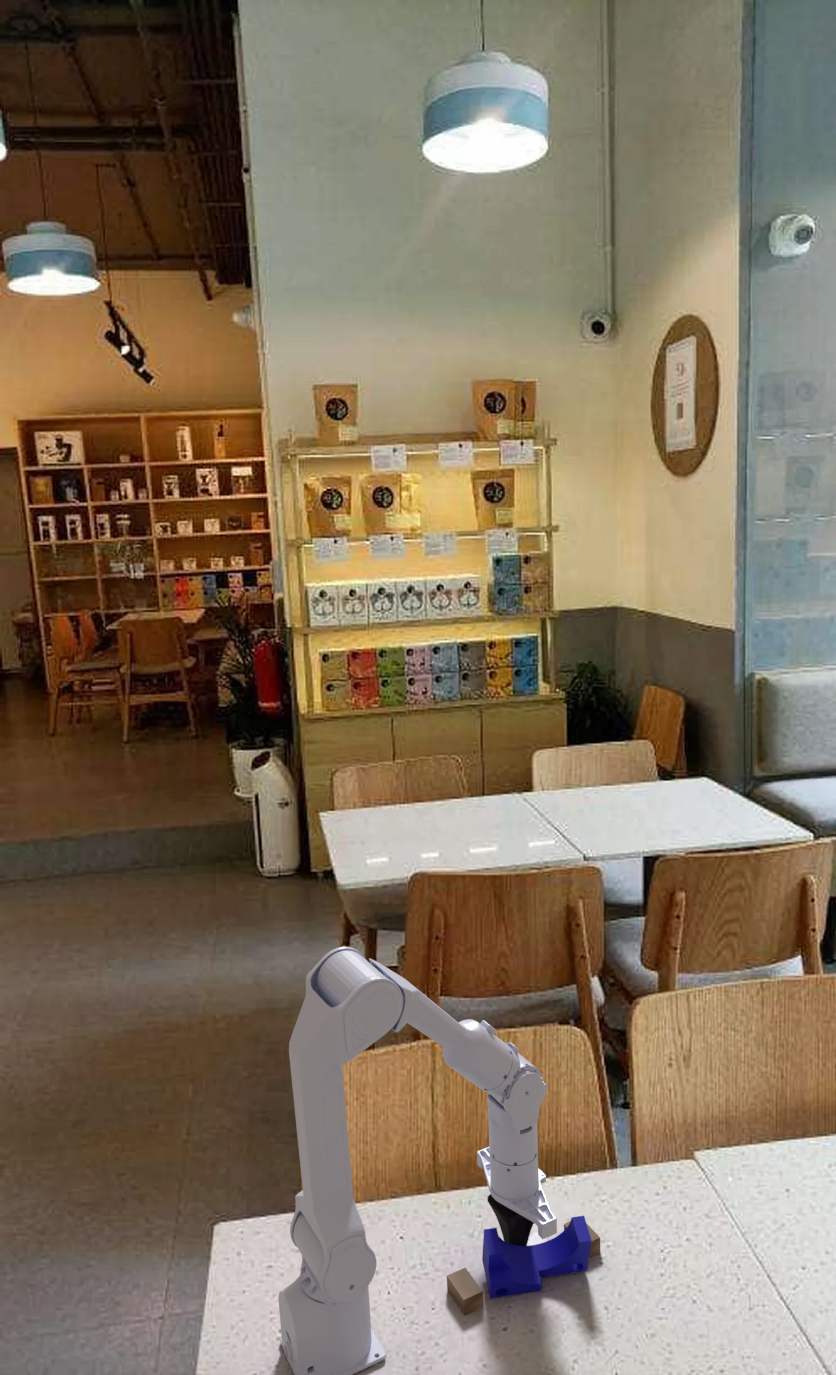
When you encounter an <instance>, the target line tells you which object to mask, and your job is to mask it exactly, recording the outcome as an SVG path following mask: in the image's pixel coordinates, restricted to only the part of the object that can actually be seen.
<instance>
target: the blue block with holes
mask: <svg viewBox="0 0 836 1375" xmlns="http://www.w3.org/2000/svg"><path fill="white" fill-rule="evenodd" d="M569 1222H570V1224H569V1225H568V1227H567V1228H566V1229H565V1230H564V1229H563V1231H562V1232H560V1233H559V1234H558V1235H556V1236H555V1237H553V1238H552V1239H549V1240H546V1241H544V1242H541V1243H537V1244H531V1245H527V1246H518V1245H512V1244H509V1243H507V1242H505V1241H504V1239H502V1238H501V1237H500V1236H499V1233H498V1228H497V1227H491V1228H484V1229H483V1238H482V1239H483V1242H482V1258H481V1259H482V1264H483V1270H484V1276H485V1281H486V1286H487V1291H488V1296H489V1299H498V1298H504V1297H511V1296H518V1295H524V1294H531V1293H537V1292H541V1291H542V1280H541V1278H548V1277H554V1276H561V1275H569V1274H575V1273H581V1272H583V1273H584V1272H588V1268H589V1262H590V1260H589V1259H590V1257H589V1255H590V1248H591V1241H592V1240H591V1237H590V1234H589V1230H588V1227H587V1224H588V1223H587V1221H586V1218H585V1215H580V1216H571V1219H570V1221H569ZM586 1223H587V1224H586Z"/></svg>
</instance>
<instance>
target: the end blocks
mask: <svg viewBox="0 0 836 1375" xmlns="http://www.w3.org/2000/svg"><path fill="white" fill-rule="evenodd" d="M569 1224H570V1221H568V1222H565V1223H564V1224H563V1231H564V1230H565V1229H566V1228H567V1227H568V1225H569ZM586 1224H587V1227H588V1230H589V1234H590V1237H591V1240H592V1241H591V1248H590V1255H589V1258H591V1257H593V1256H595V1255H597V1254H599V1253H601V1237H600V1236H599V1234H598V1233H596V1231H595V1230H593V1228H592V1227H591V1226H590V1225H589V1224H588V1223H587V1222H586ZM446 1291H447V1292H448V1294H449V1295H450V1297H451V1298H452V1300H453V1301H454V1303H455V1304H456V1306H457V1307H458V1309H460V1311H461V1313H462V1314H463V1316H466V1315H468V1314H471V1313H473V1312H475V1311H477V1310H479V1309H482V1308H483V1307H484V1294H483V1293H484V1291H483V1290H482V1288H481V1287H480V1285H479V1284H478V1283H477V1281H476V1280H475V1279H474V1277H473V1276H472V1274H471V1273H470V1272H469V1270H468V1268H466V1267H463V1268H461V1269H459V1270H457V1271H454V1272H453V1273H452V1272H451V1273H449V1274H447V1275H446Z"/></svg>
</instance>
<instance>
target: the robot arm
mask: <svg viewBox="0 0 836 1375" xmlns="http://www.w3.org/2000/svg"><path fill="white" fill-rule="evenodd" d="M368 960H369V961H368ZM368 960H367V959H366V957H364V955H363V954H362V952H360V951H359V950H358V949H356V948H354V947H350V946H340V947H336V948H334V949H332V950H330V951H328V952H327V953H325V955H323V957H321V959H320V960H319V961H318V962H317V963H316V965H314V966H313V968H312V969H311V970H310V971H309V972H308V973H307V974H306V976H305V997H304V1000H303V1003H302V1005H301V1009H300V1011H299V1013H298V1017H297V1019H296V1023H295V1025H294V1028H293V1030H292V1034H291V1036H290V1039H289V1042H288V1043H289V1044H288V1045H289V1046H288V1055H289V1066H290V1075H291V1076H290V1077H291V1086H292V1096H293V1104H294V1116H295V1123H296V1124H295V1125H296V1137H297V1146H298V1156H299V1163H300V1164H299V1165H300V1175H301V1186H302V1190H301V1191H299V1192H298V1193H297V1194H296V1195H295V1197H294V1200H295V1211H294V1214H293V1217H292V1220H291V1223H290V1227H289V1236H290V1240H291V1241H292V1242H293V1245H294V1246H295V1247H296V1248H297V1249H298V1251H299V1252H300V1255H301V1265H300V1274H299V1276H298V1277H297V1278H296V1279H295V1280H294V1281H292V1283H290V1284H289V1285H288V1286H286V1287H285V1288H283V1289H281V1290H280V1291H279V1293H278V1308H279V1309H278V1310H279V1319H280V1320H279V1323H280V1334H281V1336H280V1337H279V1338H280V1339H279V1342H280V1344H281V1347H282V1349H283V1351H284V1355H285V1357H286V1361H288V1364H289V1366H290V1368H291V1370H292V1373H293V1375H354V1374H357V1373H358V1372H360V1371H363V1370H365V1369H368V1367H371V1366H373V1365H375V1364H377V1363H379V1362H381V1361H382V1362H383V1361H384V1360H386V1359H387V1358H386V1357H387V1352H386V1351H385V1348H384V1347H383V1345H382V1343H381V1341H380V1339H379V1337H378V1336H377V1334H376V1332H375V1331H374V1328H373V1327H372V1323H371V1322H372V1321H371V1307H370V1305H371V1304H370V1290H369V1285H370V1284H371V1283H372V1281H373V1279H374V1278H375V1277H374V1276H375V1274H376V1270H377V1258H376V1254H375V1251H374V1250H373V1249H372V1247H371V1246H370V1245H369V1244H368V1242H367V1236H366V1229H365V1226H364V1224H363V1221H362V1218H361V1215H360V1213H359V1210H358V1207H357V1205H356V1202H355V1198H354V1189H353V1186H354V1185H353V1176H352V1164H351V1154H350V1142H349V1141H350V1140H349V1130H348V1120H347V1119H348V1118H347V1110H346V1099H345V1098H346V1097H345V1087H344V1086H345V1085H344V1075H343V1064H349V1062H351V1061H352V1060H353V1059H354V1058H356V1057H358V1055H360V1054H362V1053H363V1052H364V1051H365V1050H366V1049H368V1048H369V1047H371V1046H372V1045H373V1044H374V1043H376V1042H377V1041H379V1040H380V1039H381V1038H382V1037H384V1036H385V1035H386V1034H387V1033H388V1032H389V1031H391V1030H392V1031H393V1032H394V1033H399V1032H400V1031H401V1030H402V1029H403V1028H404V1027H405V1026H406V1024H408V1025H409V1026H411V1027H413V1028H414V1029H416V1030H417V1031H419V1032H420V1033H421V1034H423V1035H425V1036H426V1037H427V1038H428V1039H430V1040H432V1041H434V1042H435V1043H436V1044H438V1045H439V1046H441V1047H442V1057H443V1060H444V1062H445V1064H446V1065H447V1066H448V1067H449V1068H450V1069H452V1070H454V1071H455V1072H456V1073H458V1074H459V1075H461V1076H462V1077H463V1078H465V1079H466V1080H468V1081H469V1082H470V1083H472V1085H474V1086H475V1087H478V1088H479V1089H480V1090H481V1091H483V1092H485V1093H488V1094H487V1118H488V1119H487V1120H488V1142H489V1146H487V1147H484V1148H482V1149H480V1150H478V1151H476V1164H477V1166H478V1167H479V1169H481V1170H483V1172H484V1176H485V1179H486V1182H487V1183H486V1184H487V1186H488V1191H489V1195H488V1196H487V1198H486V1199H487V1203H488V1205H489V1206H490V1207H491V1209H492V1211H493V1213H494V1215H495V1217H496V1219H497V1223H498V1224H499V1228H500V1231H501V1234H502V1238H503V1241H505V1242H507V1243H509V1244H512V1245H518V1246H528V1241H529V1237H530V1235H531V1231H532V1228H533V1226H534V1224H535V1225H536V1227H537V1235H538V1237H540V1238H541V1240H544V1239H545V1240H546V1239H547V1238H548V1239H549V1237H552V1236H553V1235H556V1234H558V1223H557V1221H558V1219H557V1217H556V1216H555V1214H554V1213H553V1211H552V1210H551V1208H550V1205H549V1202H548V1199H547V1197H546V1195H545V1191H544V1189H543V1188H544V1187H543V1186H542V1184H545V1182H547V1176H546V1174H545V1173H544V1172H543V1170H541V1169H540V1168H539V1152H538V1151H539V1144H538V1141H539V1140H538V1138H539V1137H538V1119H540V1109H541V1105H542V1103H543V1101H544V1100H545V1097H546V1094H547V1089H548V1083H546V1082H545V1081H544V1078H543V1077H542V1076H543V1074H542V1072H541V1071H540V1069H538V1068H537V1067H536V1066H535V1065H534V1064H533V1063H531V1062H530V1061H529V1060H528V1059H526V1058H525V1057H524V1056H523V1055H521V1054H520V1053H519V1052H520V1049H519V1048H518V1047H517V1046H516V1045H515V1044H514V1043H512V1042H510V1041H508V1042H507V1043H506V1042H505V1041H503V1040H502V1039H500V1038H499V1037H498V1036H496V1035H495V1033H496V1028H495V1027H494V1026H492V1025H491V1024H489V1023H488V1022H487V1021H486V1020H484V1019H483V1020H481V1021H480V1022H478V1021H477V1020H474V1019H472V1018H469V1019H463V1020H461V1021H459V1022H458V1021H457V1020H456V1019H455V1018H454V1017H452V1016H451V1015H450V1014H449V1013H448V1012H446V1011H445V1010H444V1009H443V1008H442V1007H440V1006H439V1005H438V1004H436V1003H435V1002H434V1001H433V1000H432V999H430V998H429V997H428V996H427V995H425V993H423V992H422V991H420V990H419V989H418V988H417V987H415V986H414V985H413V984H412V983H411V982H409V981H408V980H407V979H406V978H405V977H403V976H401V975H400V974H398V973H396V972H395V971H393V970H391V969H390V968H388V967H387V966H385V965H383V964H382V963H380V962H379V961H376V960H374V959H373V958H368Z"/></svg>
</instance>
